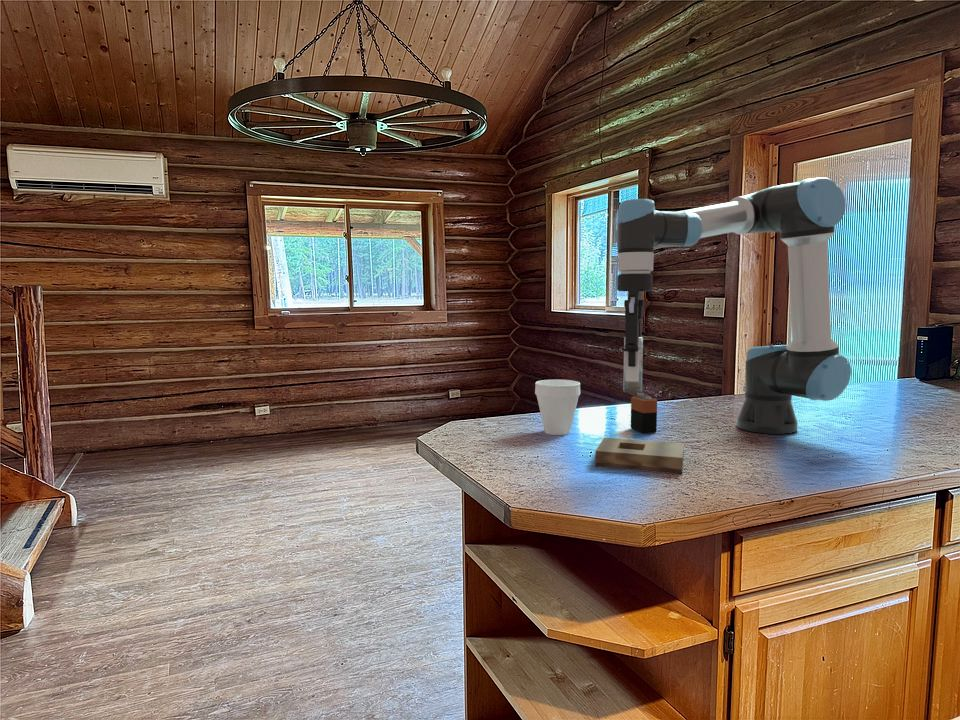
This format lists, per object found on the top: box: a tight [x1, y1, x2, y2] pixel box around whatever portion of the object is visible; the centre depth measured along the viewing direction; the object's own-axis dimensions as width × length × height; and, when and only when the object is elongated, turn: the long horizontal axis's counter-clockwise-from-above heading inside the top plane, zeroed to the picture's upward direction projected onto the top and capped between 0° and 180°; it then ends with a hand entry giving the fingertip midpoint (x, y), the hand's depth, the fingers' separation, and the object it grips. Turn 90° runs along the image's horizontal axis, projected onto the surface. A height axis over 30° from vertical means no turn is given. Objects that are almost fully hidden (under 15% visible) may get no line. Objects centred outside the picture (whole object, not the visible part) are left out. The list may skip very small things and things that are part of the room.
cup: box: [534, 379, 581, 436], centre depth 165 cm, size 12×12×14 cm
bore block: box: [594, 437, 685, 475], centre depth 136 cm, size 18×13×4 cm
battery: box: [630, 392, 658, 434], centre depth 166 cm, size 4×7×10 cm, turn 17°
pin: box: [622, 336, 644, 394], centre depth 134 cm, size 4×4×12 cm
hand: (633, 379), depth 135 cm, fingers closed on pin, 4 cm apart
